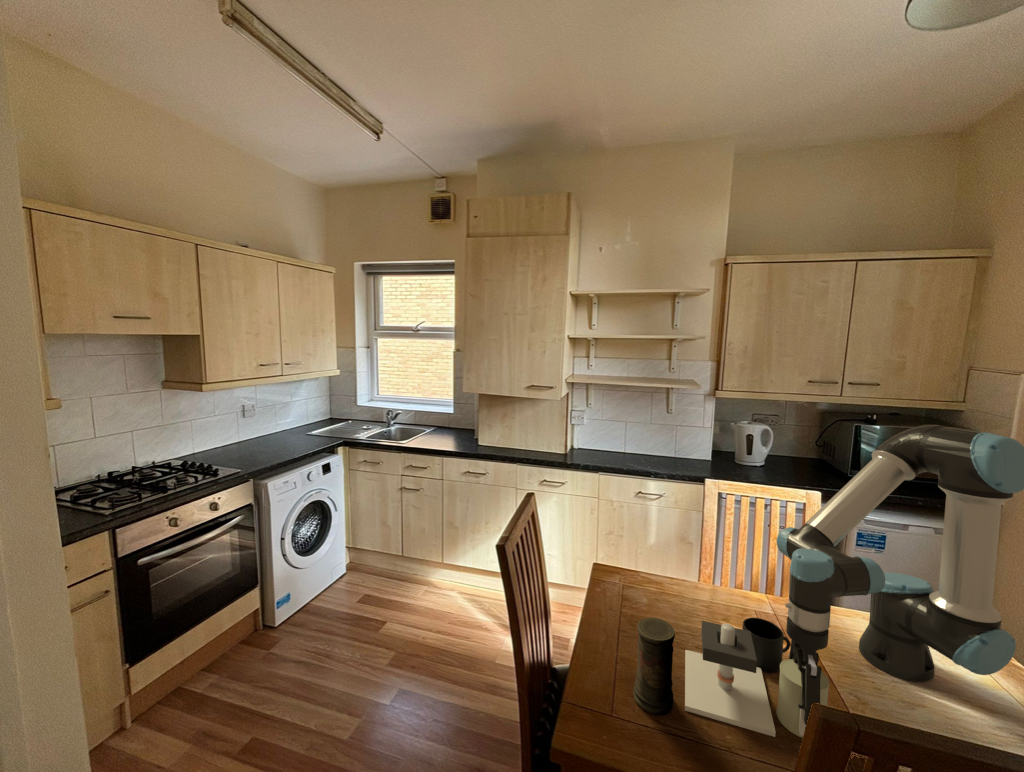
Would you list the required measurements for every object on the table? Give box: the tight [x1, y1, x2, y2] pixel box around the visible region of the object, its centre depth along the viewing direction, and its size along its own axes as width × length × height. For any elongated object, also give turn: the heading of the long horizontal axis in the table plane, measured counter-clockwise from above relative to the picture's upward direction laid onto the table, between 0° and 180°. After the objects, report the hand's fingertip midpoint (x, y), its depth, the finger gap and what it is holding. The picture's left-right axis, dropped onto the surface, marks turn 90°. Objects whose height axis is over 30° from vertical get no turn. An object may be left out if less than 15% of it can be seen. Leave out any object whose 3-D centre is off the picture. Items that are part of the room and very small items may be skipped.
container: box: [633, 616, 676, 716], centre depth 102 cm, size 9×9×18 cm
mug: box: [742, 617, 791, 674], centre depth 115 cm, size 9×12×9 cm
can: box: [775, 658, 830, 739], centre depth 96 cm, size 9×9×12 cm
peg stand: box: [684, 623, 776, 738], centre depth 105 cm, size 18×20×16 cm
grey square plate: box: [701, 620, 757, 673], centre depth 104 cm, size 11×11×3 cm
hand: (800, 717), depth 96 cm, fingers closed on can, 9 cm apart
